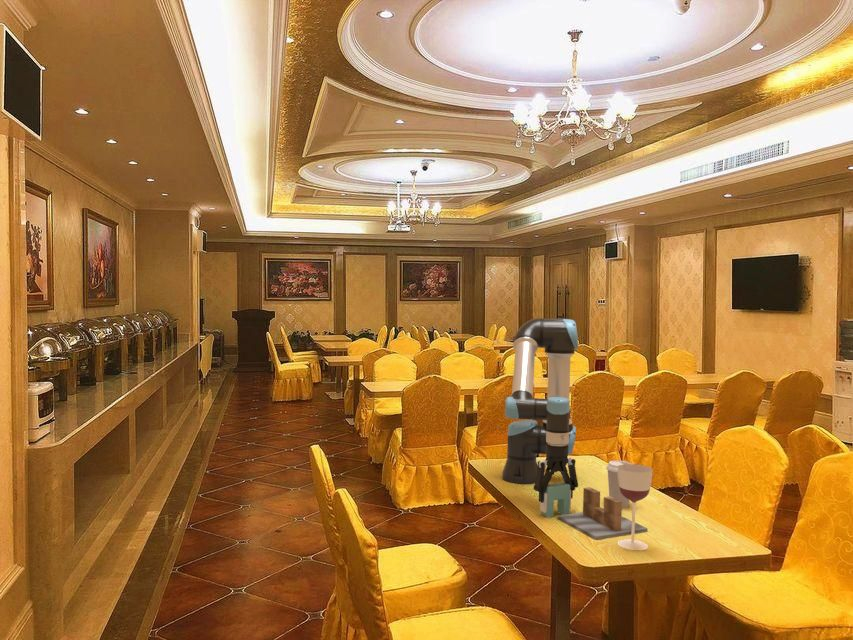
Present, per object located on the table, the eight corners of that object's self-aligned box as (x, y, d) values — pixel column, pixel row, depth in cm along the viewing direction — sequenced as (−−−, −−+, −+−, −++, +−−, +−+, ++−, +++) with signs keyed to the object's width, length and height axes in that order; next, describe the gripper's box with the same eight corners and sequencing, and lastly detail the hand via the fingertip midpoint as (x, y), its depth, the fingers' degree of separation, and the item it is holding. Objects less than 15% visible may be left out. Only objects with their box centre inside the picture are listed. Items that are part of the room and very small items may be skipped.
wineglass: (610, 539, 199) (612, 464, 198) (642, 538, 200) (644, 464, 199) (622, 550, 190) (624, 472, 189) (655, 550, 191) (658, 472, 190)
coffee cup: (634, 510, 226) (636, 467, 225) (606, 508, 228) (607, 465, 227) (631, 502, 235) (633, 461, 235) (604, 500, 237) (605, 459, 237)
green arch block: (541, 514, 220) (541, 484, 220) (563, 511, 224) (564, 482, 224) (547, 517, 217) (547, 487, 217) (569, 514, 221) (570, 485, 220)
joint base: (557, 518, 216) (558, 488, 216) (606, 511, 224) (606, 482, 224) (595, 539, 198) (596, 507, 197) (647, 531, 206) (648, 500, 205)
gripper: (536, 448, 212) (534, 517, 213) (590, 443, 221) (588, 509, 221) (523, 443, 219) (521, 510, 220) (577, 439, 227) (575, 503, 228)
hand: (555, 509), depth 221 cm, fingers closed on green arch block, 9 cm apart
